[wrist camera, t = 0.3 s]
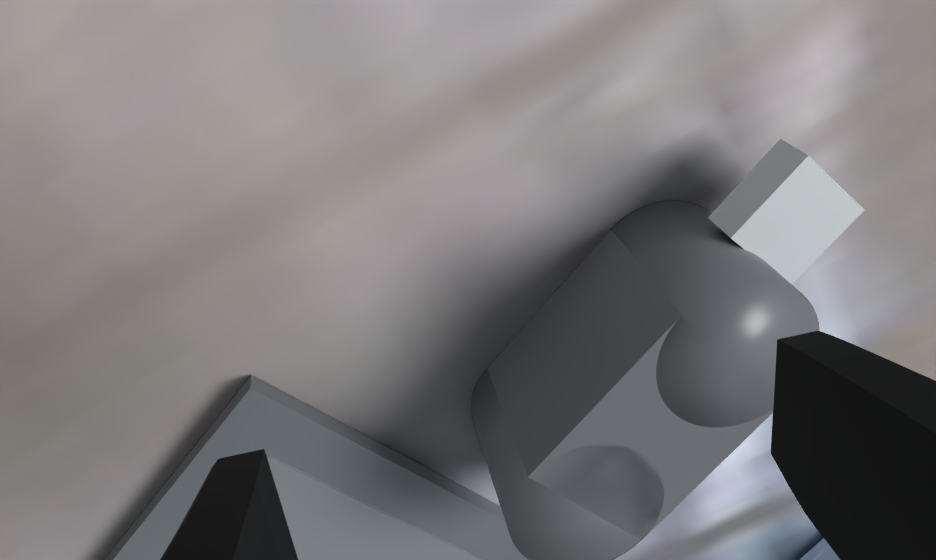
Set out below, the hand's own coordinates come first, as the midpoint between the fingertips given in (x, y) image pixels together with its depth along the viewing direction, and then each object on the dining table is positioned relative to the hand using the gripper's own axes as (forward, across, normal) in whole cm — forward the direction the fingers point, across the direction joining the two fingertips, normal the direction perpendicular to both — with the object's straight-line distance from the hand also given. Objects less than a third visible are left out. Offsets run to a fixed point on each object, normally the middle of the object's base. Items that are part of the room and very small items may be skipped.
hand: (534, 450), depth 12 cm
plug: (+10, -5, +4) cm, 12 cm away
